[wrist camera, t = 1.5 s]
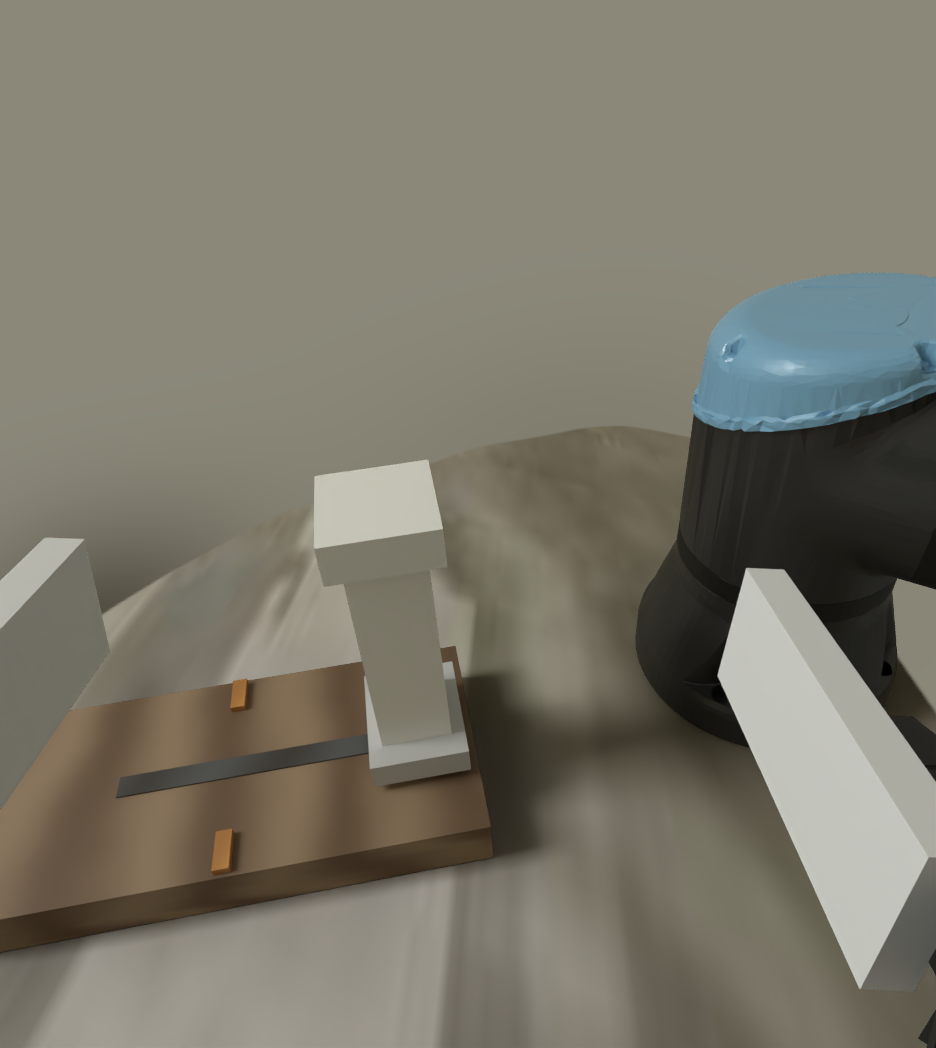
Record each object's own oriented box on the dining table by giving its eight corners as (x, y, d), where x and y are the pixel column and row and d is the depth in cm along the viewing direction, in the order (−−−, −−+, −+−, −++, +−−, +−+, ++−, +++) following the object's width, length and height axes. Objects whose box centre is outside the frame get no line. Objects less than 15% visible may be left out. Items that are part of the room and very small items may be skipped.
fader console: (458, 674, 47) (454, 637, 45) (493, 857, 38) (490, 822, 36) (41, 744, 45) (16, 710, 43) (-33, 958, 36) (-70, 927, 34)
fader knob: (454, 679, 43) (426, 453, 33) (471, 769, 38) (444, 537, 28) (368, 694, 42) (314, 470, 32) (374, 787, 37) (314, 557, 28)
